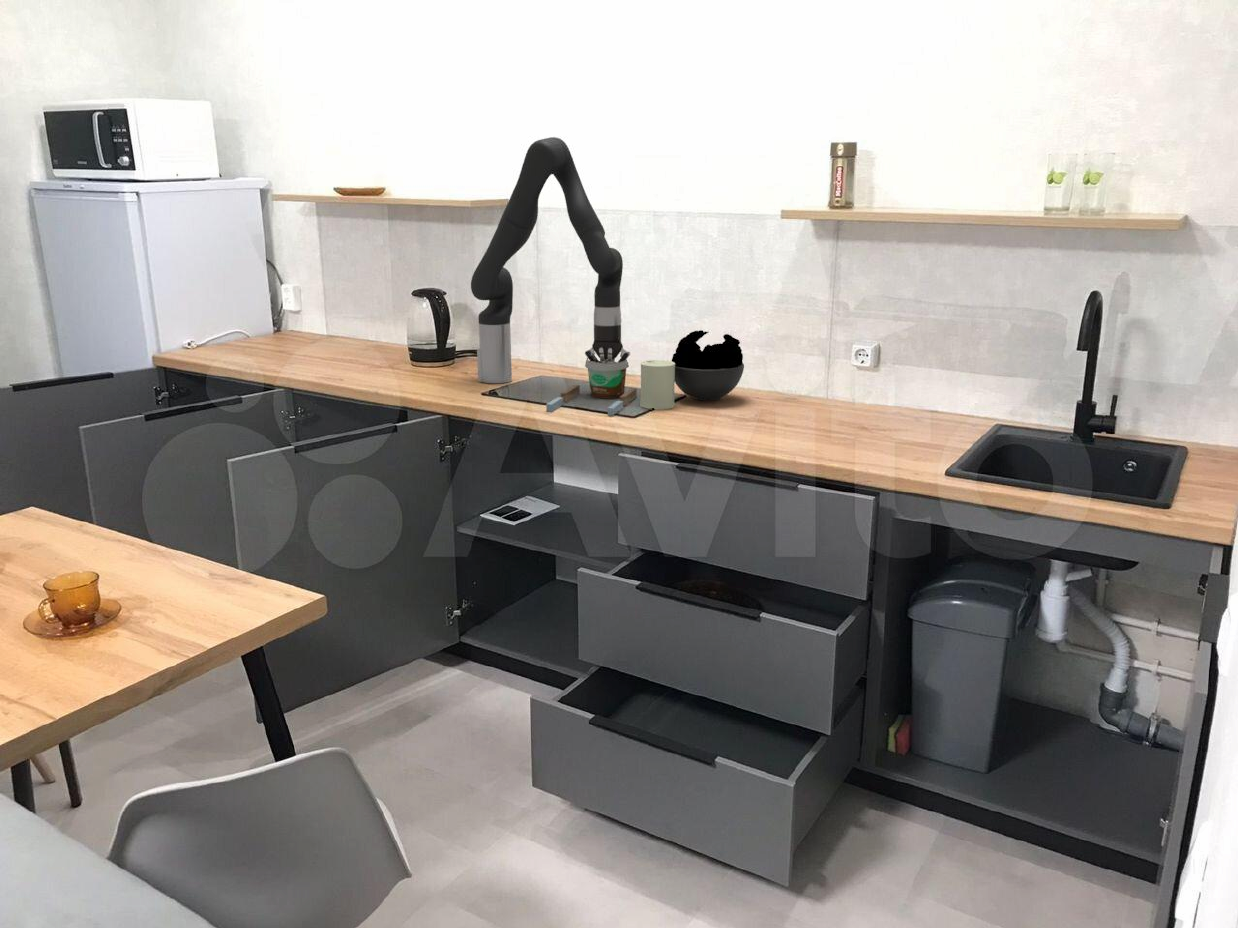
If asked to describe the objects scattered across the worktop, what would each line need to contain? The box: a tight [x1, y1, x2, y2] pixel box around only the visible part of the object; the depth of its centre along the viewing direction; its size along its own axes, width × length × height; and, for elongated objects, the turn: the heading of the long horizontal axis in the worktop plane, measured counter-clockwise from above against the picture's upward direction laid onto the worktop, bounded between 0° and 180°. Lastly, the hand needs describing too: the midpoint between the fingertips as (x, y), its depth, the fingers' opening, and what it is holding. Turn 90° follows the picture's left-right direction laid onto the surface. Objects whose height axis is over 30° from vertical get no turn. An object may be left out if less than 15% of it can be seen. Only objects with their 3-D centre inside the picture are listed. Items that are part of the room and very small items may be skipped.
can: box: [639, 359, 676, 411], centre depth 260 cm, size 9×9×12 cm
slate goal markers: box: [545, 396, 624, 417], centre depth 257 cm, size 18×9×2 cm, turn 75°
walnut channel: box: [560, 384, 638, 407], centre depth 269 cm, size 18×12×2 cm, turn 75°
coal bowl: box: [671, 330, 745, 401], centre depth 267 cm, size 20×20×19 cm
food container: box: [584, 357, 630, 399], centre depth 271 cm, size 12×6×10 cm, turn 75°
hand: (607, 384), depth 276 cm, fingers closed
